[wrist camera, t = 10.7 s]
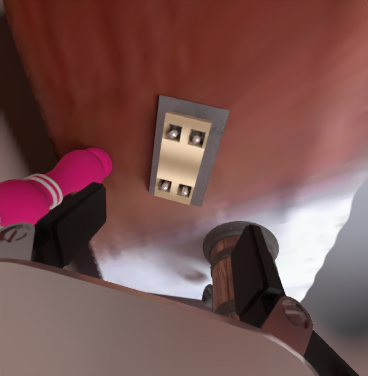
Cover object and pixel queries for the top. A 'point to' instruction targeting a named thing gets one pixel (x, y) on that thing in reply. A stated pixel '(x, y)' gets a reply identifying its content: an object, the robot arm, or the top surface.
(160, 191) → the tan rectangular block
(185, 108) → the chassis
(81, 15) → the top surface
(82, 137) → the top surface
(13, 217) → the pepper mill
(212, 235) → the tankard
